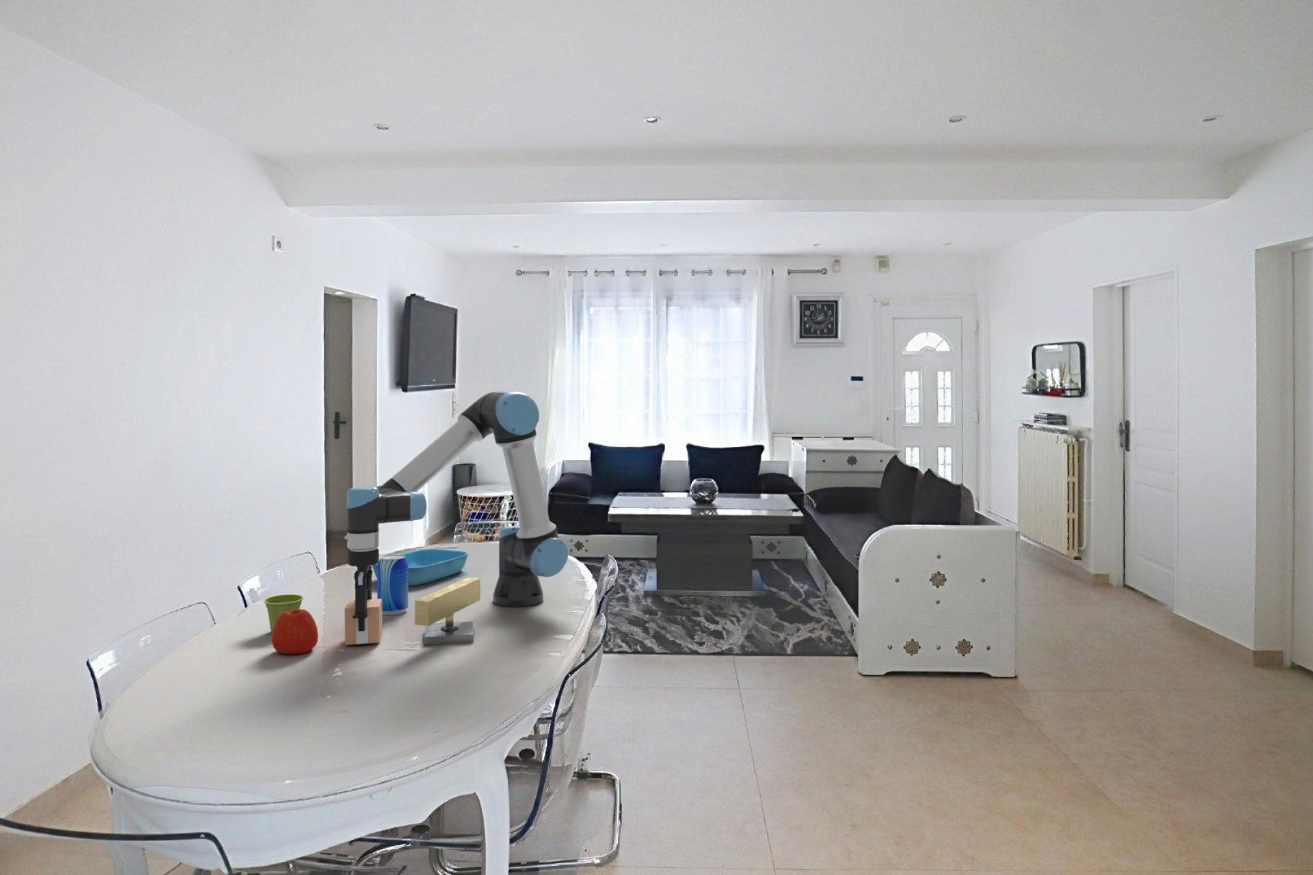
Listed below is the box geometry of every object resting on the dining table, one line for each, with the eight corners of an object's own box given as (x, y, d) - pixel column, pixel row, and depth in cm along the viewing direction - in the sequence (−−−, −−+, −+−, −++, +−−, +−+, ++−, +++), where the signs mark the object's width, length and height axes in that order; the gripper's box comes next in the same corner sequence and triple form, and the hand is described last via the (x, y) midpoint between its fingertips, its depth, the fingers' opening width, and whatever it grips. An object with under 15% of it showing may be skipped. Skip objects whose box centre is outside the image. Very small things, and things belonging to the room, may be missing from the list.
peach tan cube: (382, 633, 205) (381, 598, 205) (379, 642, 197) (378, 606, 197) (349, 635, 203) (348, 600, 203) (345, 644, 196) (344, 608, 195)
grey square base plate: (472, 628, 213) (472, 620, 213) (473, 641, 201) (473, 633, 201) (426, 631, 210) (426, 622, 210) (424, 644, 198) (424, 636, 198)
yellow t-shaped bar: (468, 612, 218) (468, 577, 218) (480, 614, 217) (480, 578, 217) (414, 640, 193) (414, 600, 193) (428, 641, 192) (428, 601, 192)
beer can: (398, 616, 223) (398, 560, 222) (371, 614, 224) (371, 558, 224) (413, 609, 231) (413, 554, 230) (387, 607, 233) (387, 553, 232)
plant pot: (311, 628, 211) (311, 596, 210) (284, 638, 202) (284, 604, 201) (283, 624, 214) (283, 592, 213) (255, 634, 205) (255, 601, 204)
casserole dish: (427, 563, 294) (427, 544, 294) (479, 569, 287) (479, 549, 286) (357, 585, 260) (357, 563, 260) (414, 591, 252) (414, 569, 252)
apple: (272, 660, 185) (271, 616, 184) (271, 648, 194) (270, 605, 193) (319, 654, 190) (319, 611, 189) (316, 642, 199) (316, 601, 198)
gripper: (352, 541, 208) (353, 626, 210) (341, 557, 188) (342, 651, 189) (382, 540, 210) (383, 625, 211) (374, 556, 190) (375, 649, 191)
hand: (364, 637), depth 200 cm, fingers closed on peach tan cube, 8 cm apart
